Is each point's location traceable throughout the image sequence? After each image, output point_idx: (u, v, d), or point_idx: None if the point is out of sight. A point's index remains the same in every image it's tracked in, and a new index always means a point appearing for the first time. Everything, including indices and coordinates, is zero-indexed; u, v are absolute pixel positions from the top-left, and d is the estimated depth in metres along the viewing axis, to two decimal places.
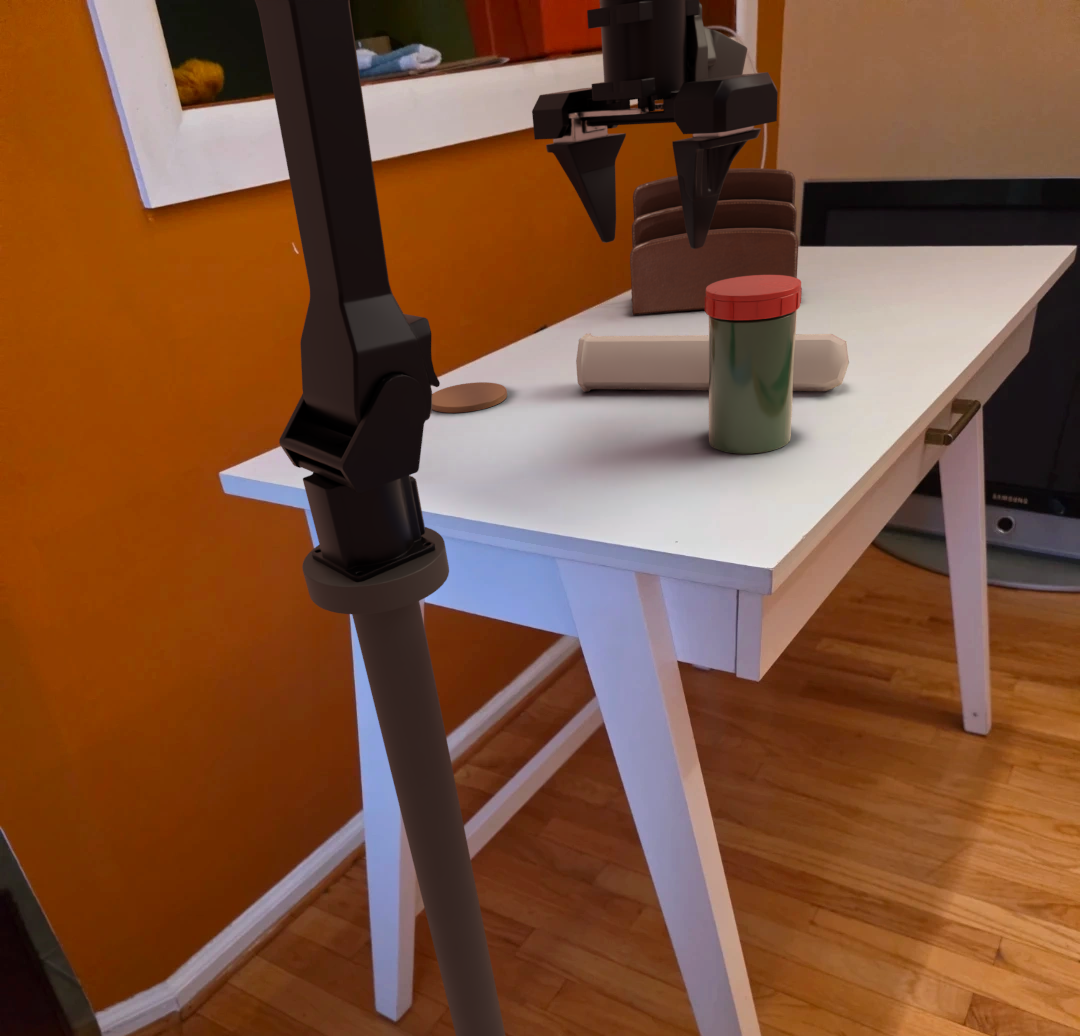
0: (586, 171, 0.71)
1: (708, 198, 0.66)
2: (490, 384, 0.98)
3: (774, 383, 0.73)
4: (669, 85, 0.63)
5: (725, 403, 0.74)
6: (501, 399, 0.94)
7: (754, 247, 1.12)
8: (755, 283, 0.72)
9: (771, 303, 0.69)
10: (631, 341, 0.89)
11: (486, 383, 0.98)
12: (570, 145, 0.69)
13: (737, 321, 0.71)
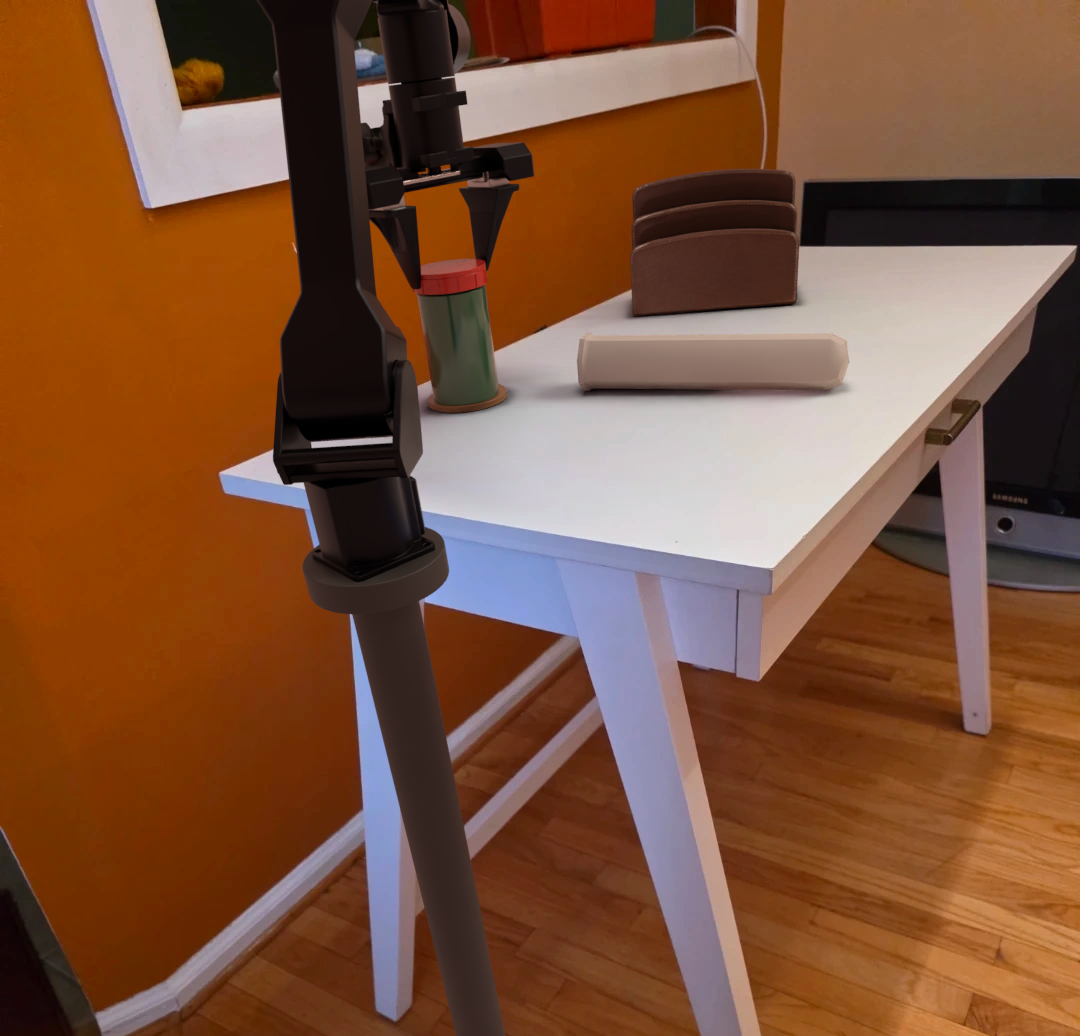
0: None
1: None
2: None
3: (490, 338, 0.91)
4: None
5: (462, 363, 0.90)
6: (501, 399, 0.94)
7: (754, 248, 1.11)
8: (446, 265, 0.89)
9: (481, 273, 0.87)
10: (632, 340, 0.90)
11: None
12: None
13: (460, 293, 0.87)
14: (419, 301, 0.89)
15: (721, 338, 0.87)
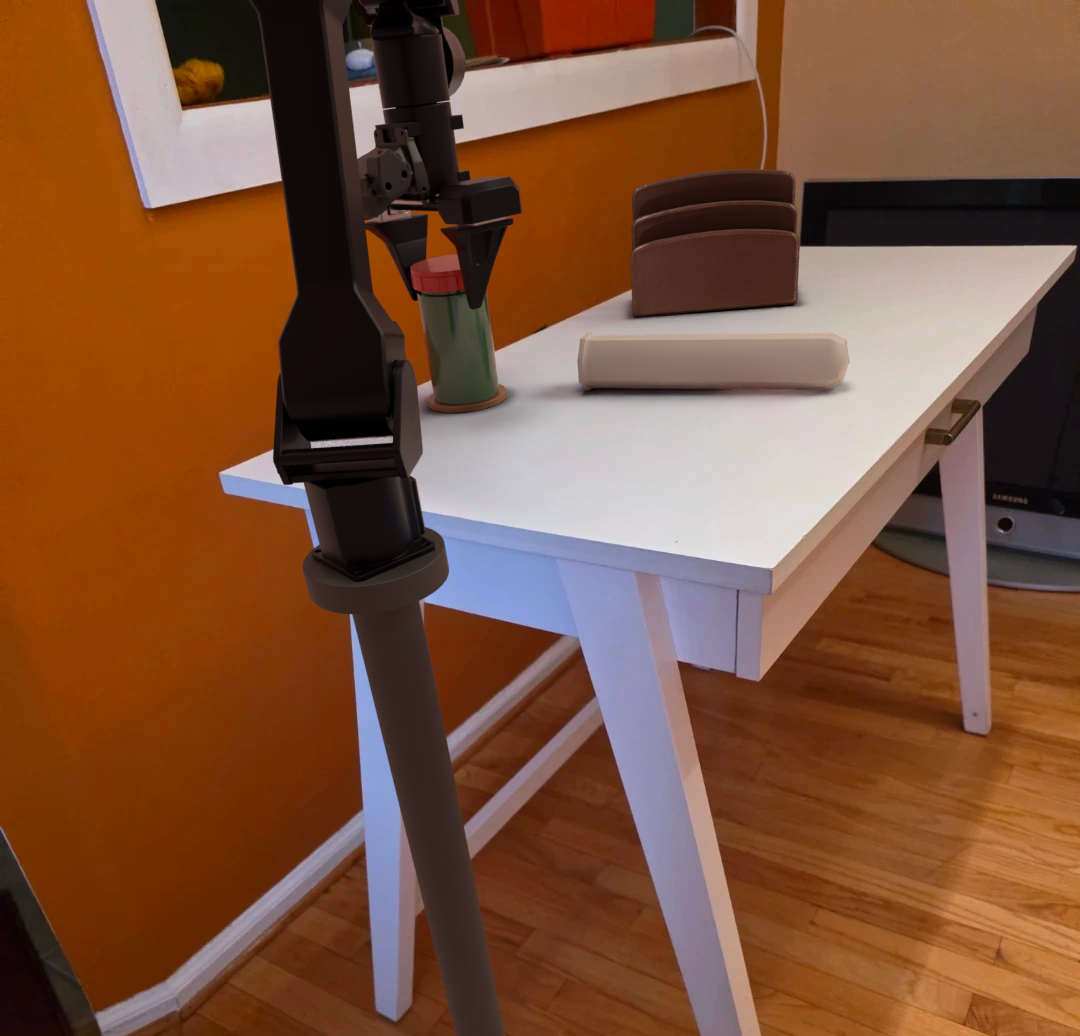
0: None
1: None
2: None
3: (491, 338, 0.91)
4: None
5: (463, 363, 0.90)
6: (501, 399, 0.94)
7: (755, 248, 1.11)
8: (449, 263, 0.87)
9: None
10: (632, 340, 0.90)
11: None
12: None
13: (461, 293, 0.87)
14: (419, 301, 0.88)
15: (721, 338, 0.87)
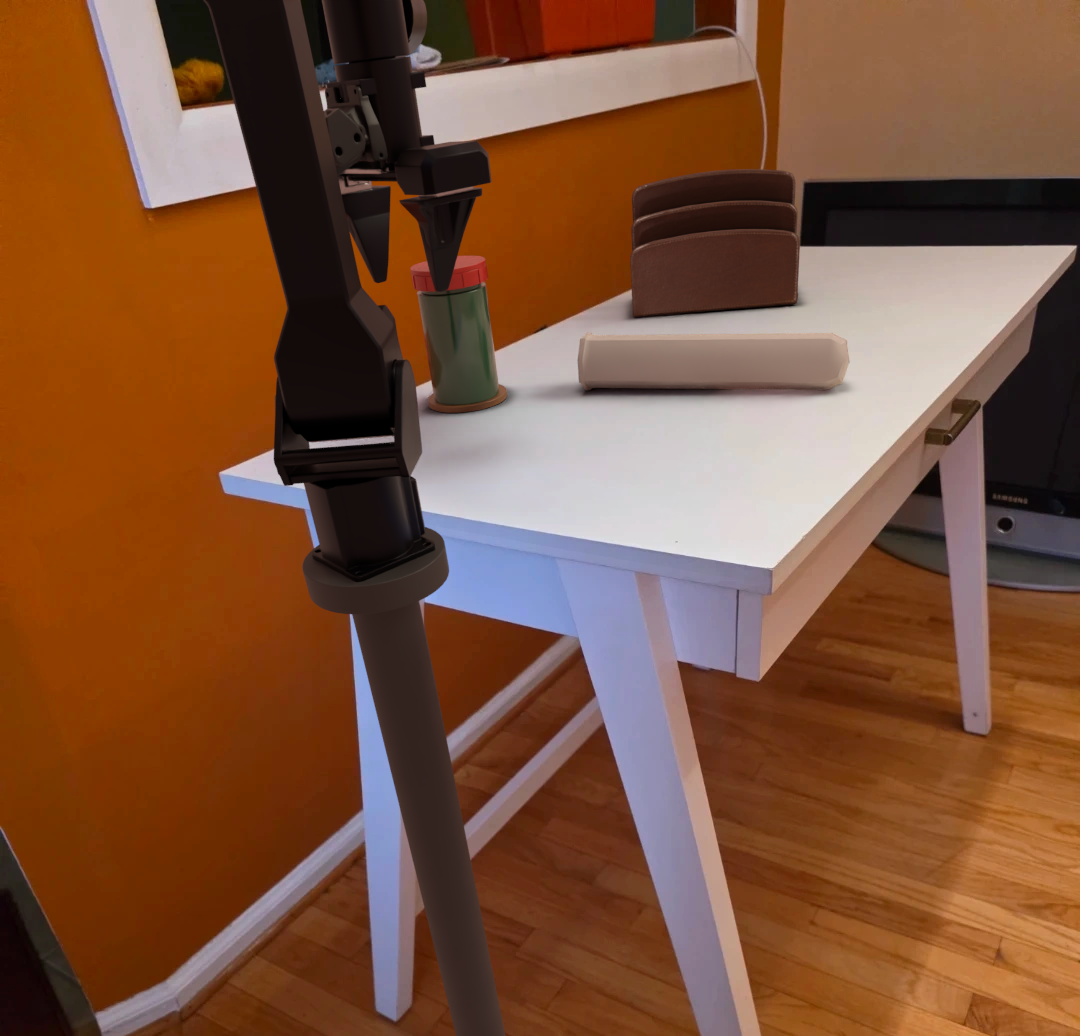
0: None
1: None
2: None
3: (490, 338, 0.91)
4: None
5: (463, 363, 0.90)
6: (501, 399, 0.94)
7: (755, 248, 1.11)
8: None
9: None
10: (632, 340, 0.90)
11: None
12: None
13: (461, 292, 0.87)
14: (420, 301, 0.89)
15: (721, 338, 0.87)
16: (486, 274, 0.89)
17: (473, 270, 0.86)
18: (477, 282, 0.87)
